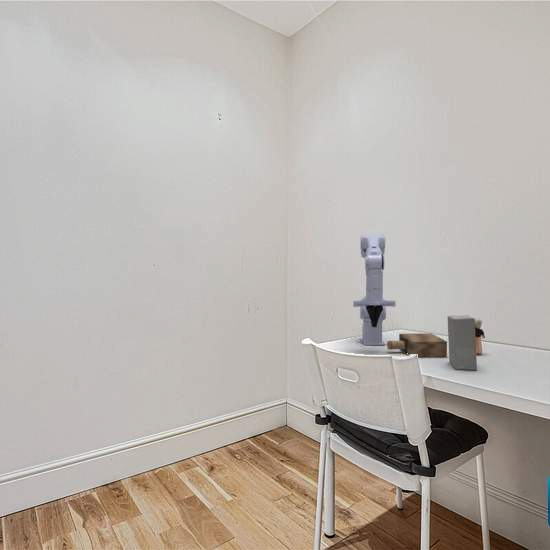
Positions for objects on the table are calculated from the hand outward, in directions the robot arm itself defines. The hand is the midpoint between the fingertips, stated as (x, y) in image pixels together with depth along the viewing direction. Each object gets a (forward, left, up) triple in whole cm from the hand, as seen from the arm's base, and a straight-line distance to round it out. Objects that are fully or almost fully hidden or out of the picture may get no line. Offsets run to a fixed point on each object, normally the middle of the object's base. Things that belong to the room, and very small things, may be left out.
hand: (374, 326), depth 146 cm
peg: (0, +11, -8) cm, 14 cm away
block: (0, +17, -9) cm, 19 cm away
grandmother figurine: (+3, +35, -10) cm, 36 cm away
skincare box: (+18, +23, -10) cm, 31 cm away
